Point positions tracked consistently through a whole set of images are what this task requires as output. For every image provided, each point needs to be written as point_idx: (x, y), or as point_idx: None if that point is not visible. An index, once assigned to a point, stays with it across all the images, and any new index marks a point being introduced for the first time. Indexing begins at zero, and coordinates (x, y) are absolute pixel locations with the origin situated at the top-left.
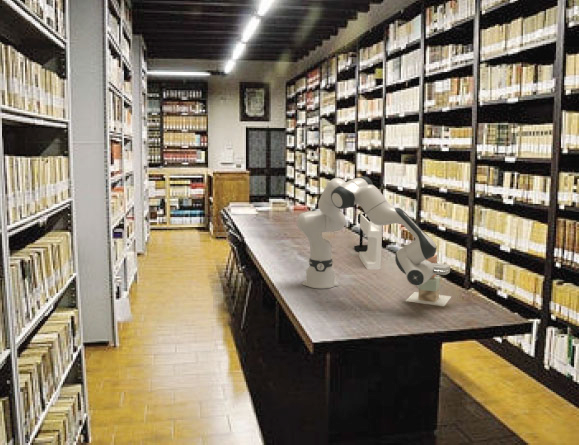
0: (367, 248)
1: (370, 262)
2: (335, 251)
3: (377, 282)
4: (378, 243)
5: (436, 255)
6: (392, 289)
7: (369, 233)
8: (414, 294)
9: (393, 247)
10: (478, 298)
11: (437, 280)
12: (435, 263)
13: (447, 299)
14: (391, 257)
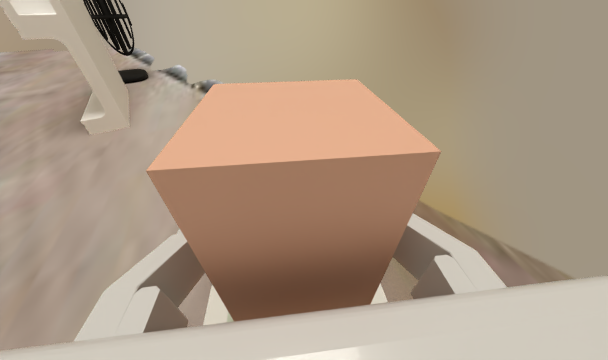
0: (125, 75)
1: (94, 115)
2: (58, 90)
3: (77, 212)
4: (80, 59)
5: (371, 93)
6: (119, 267)
7: (19, 25)
8: (219, 304)
9: (176, 68)
10: (435, 215)
11: None
12: (503, 342)
13: (379, 299)
14: (167, 87)
